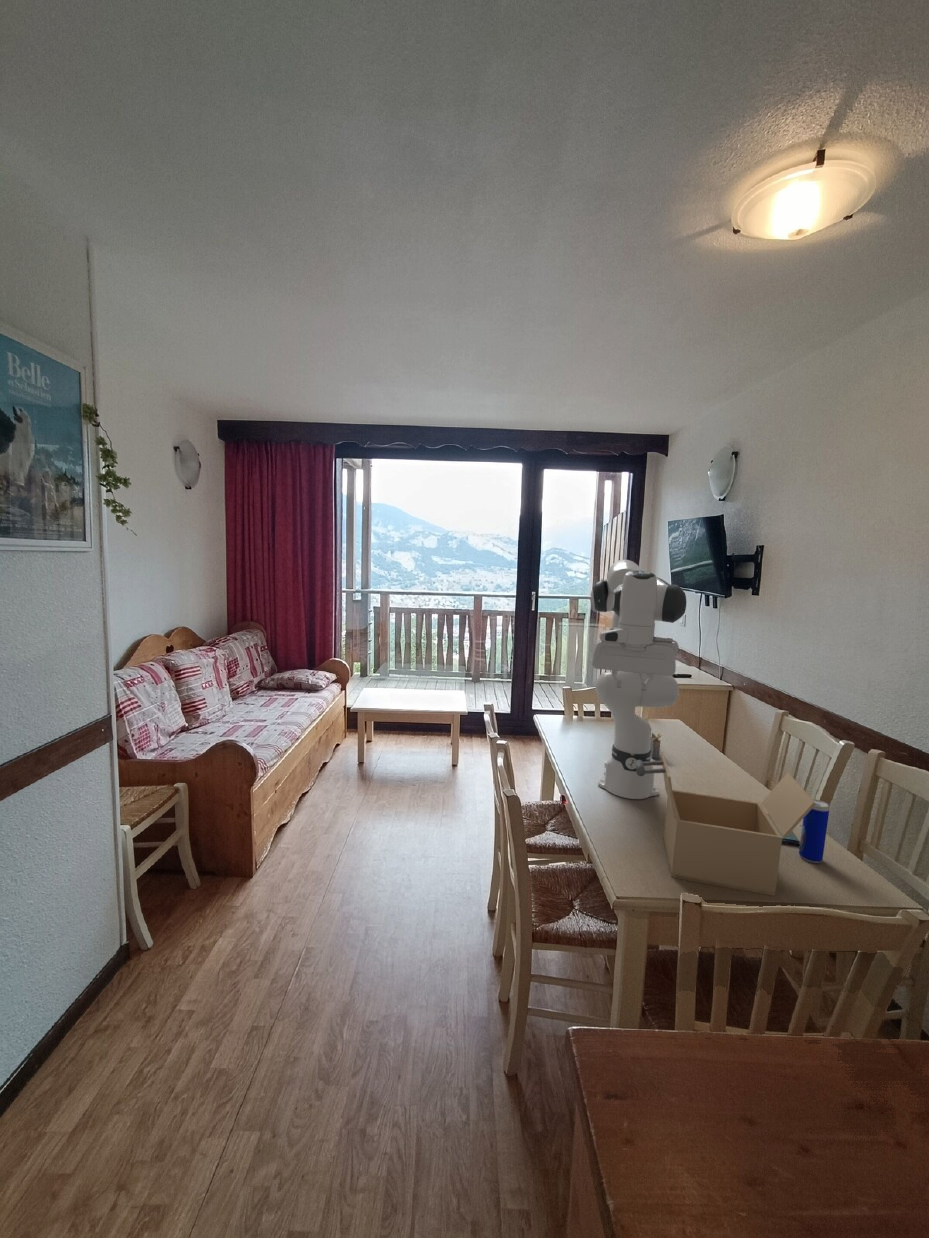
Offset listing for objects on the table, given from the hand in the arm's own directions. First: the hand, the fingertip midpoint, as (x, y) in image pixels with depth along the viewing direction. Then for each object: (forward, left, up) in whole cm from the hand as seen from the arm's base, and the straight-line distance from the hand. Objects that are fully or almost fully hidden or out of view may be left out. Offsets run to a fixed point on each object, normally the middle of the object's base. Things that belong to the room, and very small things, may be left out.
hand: (630, 688), depth 136 cm
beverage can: (-8, +48, -41) cm, 64 cm away
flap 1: (+4, +11, -22) cm, 25 cm away
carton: (+4, +23, -41) cm, 47 cm away
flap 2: (+4, +37, -22) cm, 43 cm away
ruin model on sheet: (-73, +14, -42) cm, 85 cm away
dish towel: (-22, +36, -42) cm, 59 cm away
